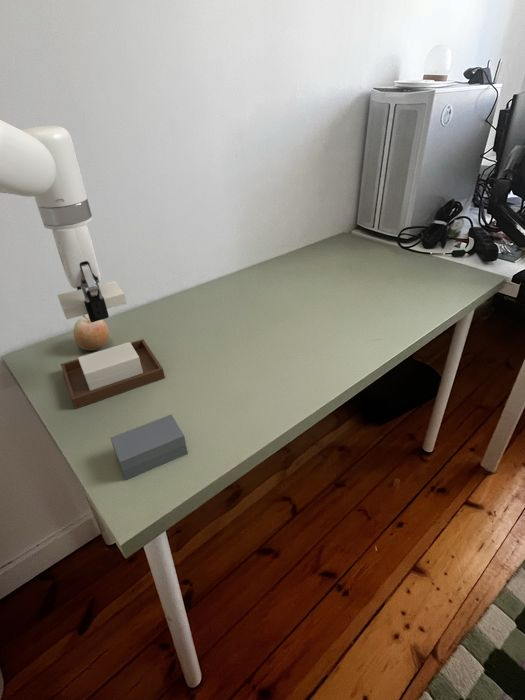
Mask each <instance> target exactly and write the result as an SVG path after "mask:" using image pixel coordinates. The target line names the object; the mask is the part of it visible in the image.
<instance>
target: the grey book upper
mask: <svg viewBox="0 0 525 700" xmlns="http://www.w3.org/2000/svg"><path fill="white" fill-rule="evenodd" d="M110 441H111V444H112V447H114V448H113V451H114V450H115V451H114V453H116V454H115V456H116V455H117V456H116V459H117V458H118V459H117V461H118V460H119V462H118V464H119V463H120V464H119V466H120V465H121V467H120V469H121V468H122V469H121V471H122V470H123V471H124V470H127V469H129V468H131V467H134V466H136V465H139V464H141V463H143V462H146V461H148V460H150V459H153V458H155V457H158V456H160V455H162V454H165V453H167V452H169V451H172V450H174V449H177V448H179V447H181V446H184V445H186V446H187V441H186V437H185V434H184V432H183V431H182V429H181V427H180V426H179V424H178V423H177V421H176V419H175V418H174V416H173V414H168V415H166V416H163V417H160V418H158V419H155V420H152V421H149V422H147V423H145V424H142V425H140V426H137V427H135V428H132V429H129V430H127V431H124V432H121V433H119V434H116V435H114V436H110Z"/></svg>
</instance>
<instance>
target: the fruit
mask: <svg viewBox="0 0 525 700" xmlns="http://www.w3.org/2000/svg"><path fill="white" fill-rule="evenodd" d="M109 337H110V330H109V326H108V324H107V323H106V321H104V319H102V320H99V321H95V322H91V321H90V319H89V316H85V315H82V317H81V318H79V319H78V320H77V321H76V322H75V324H74V326H73V338H74V341H75V343H76V344H77V346H78V347H79V348H81V349H83V350H85V351H97V350H101V349H102V348H103V347H105V346H106V344H107V343H108V340H109Z"/></svg>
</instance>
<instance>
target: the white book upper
mask: <svg viewBox="0 0 525 700" xmlns="http://www.w3.org/2000/svg"><path fill="white" fill-rule="evenodd" d="M131 343H132V342H130V341H128V342H124V343H122V344H121V343H120V344H118V345H115V346H111V347H108V348H105V349H101V350H99V351H95V352H93V353H88V354H85V355H82V356H79V357H77V359H79V362H80V365H81V368H82V371H83V373H84V376H85V378H86V381H87V383H88V382H91V381H94V380H97V379H100V378H103V377H106V376H109V375H112V374H115V373H118V372H121V371H124V370H128V369H131V368H134V367H137V366H140V365H141V363H140V359H139V356H138V355H137V353H136V351H135V350H134V348H133V346H132V345H131Z"/></svg>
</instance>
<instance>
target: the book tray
mask: <svg viewBox="0 0 525 700" xmlns="http://www.w3.org/2000/svg"><path fill="white" fill-rule="evenodd" d="M130 343H131V345H132V346H133V348H134V350H135V351H136V353H137V355H138V356H139V359H140V363H141V367H142V371H143V373H142V374H139V375H136V376H133V377H130V378H127V379H124V380H121V381H118V382H115V383H112V384H109V385H106V386H103V387H100V388H97V389H94V390H91V391H90V390H89V387H88V384H87V382H86V379H85V377H84V374H83V371H82V368H81V365H80V362H79V359H78V358H76V359H73V360H69V361H66V362H63V363H60V367H61V370H62V373H63V376H64V379H65V383H66V385H67V389H68V392H69V395H70V398H71V401H72V404H73V407H74V409H75V410H77V409H81V408H84V407H86V406H89V405H92V404H95V403H97V402H100V401H103V400H105V399H108V398H111V397H114V396H117V395H120V394H123V393H126V392H128V391H129V392H130V391H131V390H134V389H138V388H140V387H144V386H146V385H149V384H152V383H154V382H157V381H160V380H164V379H165V378H166V375H165V372H164V368H163V366H162V365H161V363H160V362H159V360H158V358H157V357H156V356H155V354H154V353H153V351H152V350H151V348H150V347H149V345H148V343H147V342H146V341H145V339H144V338H142V339H138V340H135V341H131V342H130Z"/></svg>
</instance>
